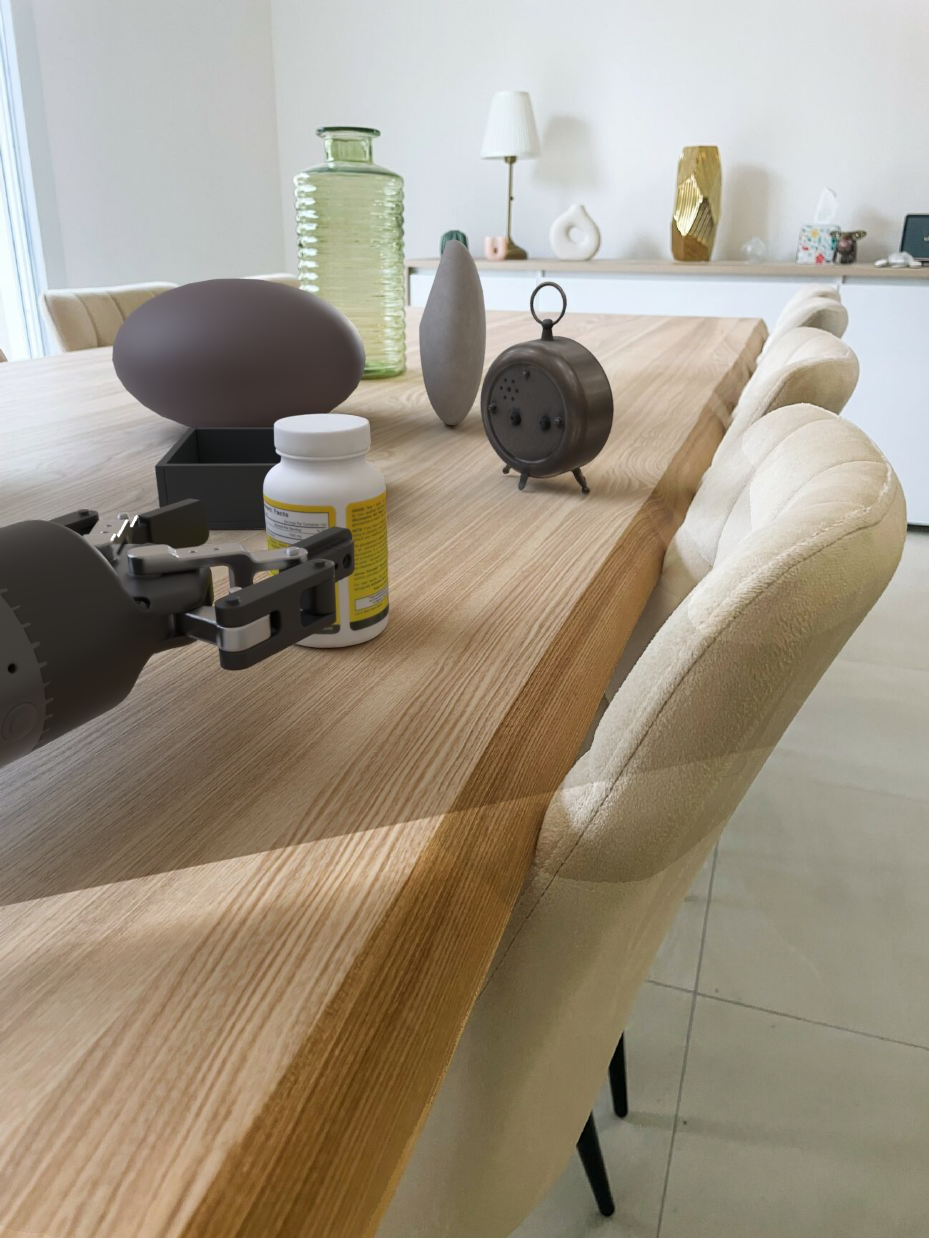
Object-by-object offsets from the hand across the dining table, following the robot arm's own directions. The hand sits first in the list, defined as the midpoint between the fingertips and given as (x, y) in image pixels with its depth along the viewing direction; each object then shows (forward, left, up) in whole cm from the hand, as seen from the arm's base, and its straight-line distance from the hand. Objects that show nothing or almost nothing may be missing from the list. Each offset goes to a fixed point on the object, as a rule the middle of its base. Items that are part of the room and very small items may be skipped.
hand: (271, 532), depth 44 cm
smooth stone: (-23, +52, -7) cm, 57 cm away
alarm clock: (+9, +36, -7) cm, 38 cm away
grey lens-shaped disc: (-3, +61, -7) cm, 62 cm away
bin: (-11, +26, -7) cm, 29 cm away
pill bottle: (+1, +4, -7) cm, 8 cm away
